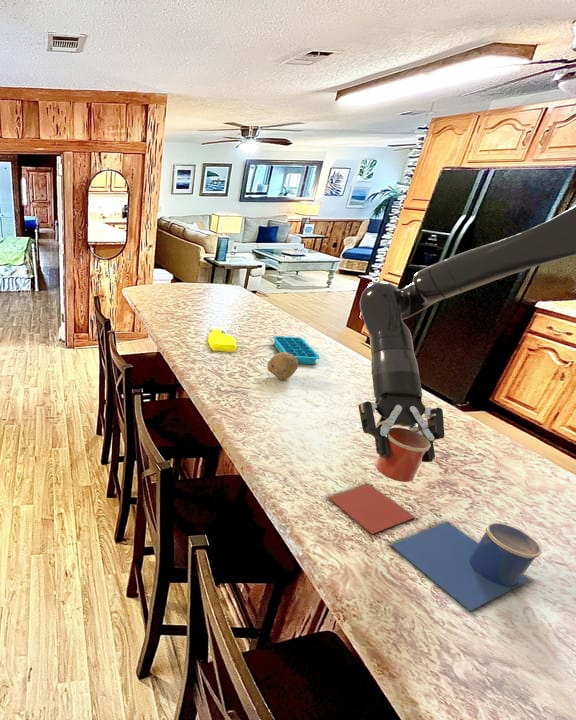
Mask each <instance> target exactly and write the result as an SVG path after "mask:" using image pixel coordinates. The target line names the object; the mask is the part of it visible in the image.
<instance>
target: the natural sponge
mask: <svg viewBox="0 0 576 720" xmlns="http://www.w3.org/2000/svg"><path fill="white" fill-rule="evenodd" d="M298 367H299V363H298V361H297V359H296V358H295V357H294V356H293V355H292V354H290V353H287V352H277V353H275V354H274V355H273V356H272V357H271V358H270V359H269V361H268V362H267V371H268V372H269V373H271V374H272V375H273V376H275V377H276V379H277V380H280V381H285V380H288V379H290V378H291V377H293V375H294V374H295V372H296V371H297V369H298Z"/></svg>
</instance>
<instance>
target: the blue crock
mask: <svg viewBox="0 0 576 720" xmlns="http://www.w3.org/2000/svg"><path fill="white" fill-rule="evenodd" d="M477 543H478V545H477V547H476V548H475V550H474V551H473V553H472V555H471V556H470V559H469V560H470V563H471V565H472V567H473V568H474V569H475V570H476V571H477V572H478V573H479V574H481V575H482V576H483V577H485V578H486V579H488V580H490V581H492V582H494V583H496V584H499V585H503V586H514V585H516V583H517V582H518V581H519V579H520V578H521V577H522V575H525V572H526V571H527V570H528V569H529V567H530V566H531V564H532V563H533V562H534V560H536V558H539V557H540V556H541V554H542V552H543V551H542V547H541V546H540V544H539V543H538V542H537V541H536V540H535V539H534V538H533V537H531V536H530V535H529V534H528V533H526V532H524V531H523V530H521V529H519V528H516V527H515V526H512V525H509V524H506V523H501V522H490V523H489V524H487V526H486V527H485V532H484V534H483V536H481V538H480V540H479V542H477Z"/></svg>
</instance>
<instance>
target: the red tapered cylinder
mask: <svg viewBox="0 0 576 720" xmlns="http://www.w3.org/2000/svg"><path fill="white" fill-rule="evenodd" d="M386 437H388V440H389V448H390V457H387V458H382V457H380V455H379V454H378V457H377V459H376V461H375V465H374V466H375V469H376V470H377V471H378V472H379V473H380V474H382V475H383V476H384V477H386V478H387V479H390V480H394V481H396V482H400V483H409V482H411V481H413V480H414V478H415V476H416V474H417V472H418V470H419V468H420V466H421V464H422V463H423V462H422V460H423V458H424V455H425V453H426V451H427V450H429V448H430V446H431V444H430V442H429V440H428V439H427V438H425V437H424V436H422V435H421V434H419V433H417V432H414V431H412V430H410V429H409V428H403V427H391V428H390V430H389V431H388V433H387V435H386Z"/></svg>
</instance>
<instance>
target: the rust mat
mask: <svg viewBox="0 0 576 720" xmlns="http://www.w3.org/2000/svg"><path fill="white" fill-rule="evenodd" d="M328 499H329V500H330V501H331V502H333V504H334V505H336V506H337V507H339V509H341V510H342V511H343V512H344V513H346V515H348V516H349V517H351V518H352V519H353V520H354V521H355V522H356V523H358V524H359V525H360V526H361V527H362V528H364V529H365V530H366V531H367V532H368V533H369V534H370V535H374V534H377V533H379V532H382V531H384V530H387V529H390V528H392V527H395V526H397V525H400V524H402V523H405V522H408V521H411V520H413V519H415V517H414V516H413V515H412V514H411V513H410V512H408V511H406V510H405V509H404V508H402V507H401V506H400V505H398V504H397V503H395V502H394V501H393V500H391V499H390V498H389V497H388V496H386V495H385V494H383V493H381V491H379V490H377V489H376V488H375V487H373V486H372V485H371V484H369V483H368V484H366V485H361V486H359V487H356V488H354V489H350V490H348V491H347V490H346V491H344V492H340V493H338V494H334V495H332V496H329V497H328Z"/></svg>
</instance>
